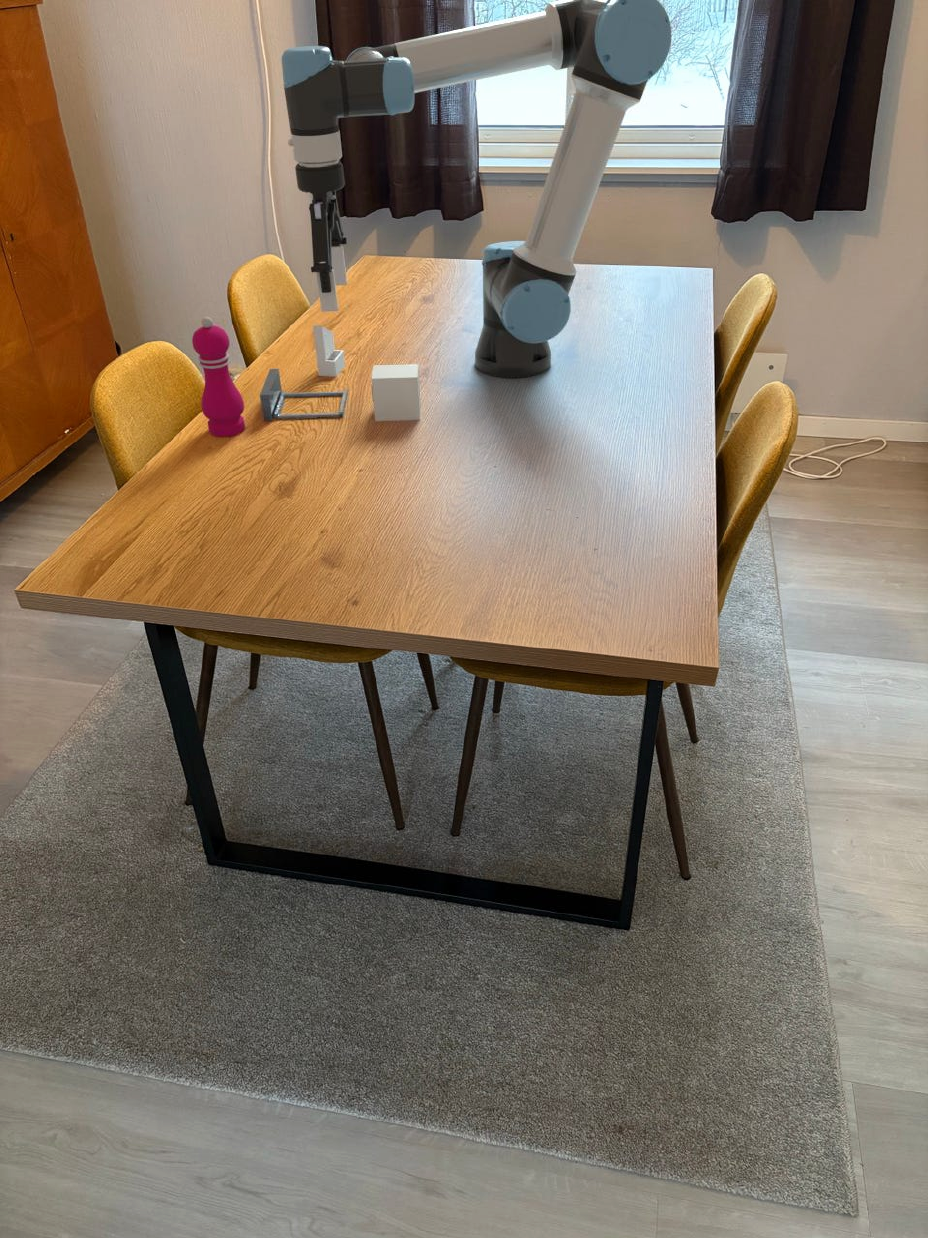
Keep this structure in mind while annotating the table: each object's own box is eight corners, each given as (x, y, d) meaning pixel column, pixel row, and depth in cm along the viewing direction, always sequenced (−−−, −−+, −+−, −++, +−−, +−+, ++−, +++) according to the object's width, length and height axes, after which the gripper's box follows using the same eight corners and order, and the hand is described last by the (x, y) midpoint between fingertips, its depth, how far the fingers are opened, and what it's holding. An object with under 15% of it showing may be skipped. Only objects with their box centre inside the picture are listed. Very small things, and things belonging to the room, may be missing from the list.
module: (420, 405, 172) (418, 363, 167) (419, 419, 167) (417, 377, 162) (376, 407, 172) (372, 365, 167) (374, 421, 167) (370, 378, 162)
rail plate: (348, 392, 178) (345, 366, 175) (342, 419, 168) (339, 392, 165) (273, 394, 178) (269, 368, 175) (263, 421, 168) (259, 394, 165)
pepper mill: (255, 423, 167) (236, 311, 155) (234, 440, 162) (213, 326, 150) (220, 418, 169) (199, 308, 157) (198, 435, 164) (175, 322, 152)
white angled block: (310, 372, 180) (312, 325, 179) (327, 379, 189) (329, 334, 188) (328, 373, 179) (331, 326, 178) (344, 380, 189) (347, 335, 188)
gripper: (306, 146, 158) (322, 275, 170) (281, 180, 138) (302, 323, 150) (350, 145, 157) (363, 273, 170) (332, 178, 137) (348, 321, 150)
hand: (334, 297), depth 160 cm, fingers open, 13 cm apart
